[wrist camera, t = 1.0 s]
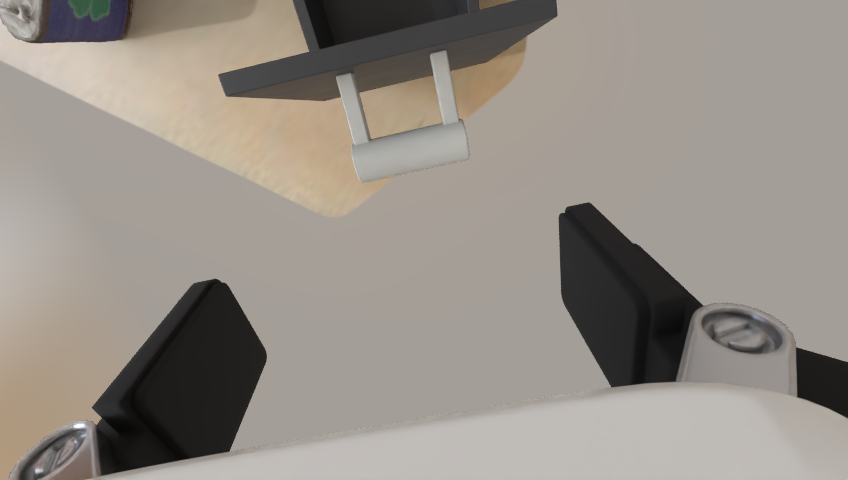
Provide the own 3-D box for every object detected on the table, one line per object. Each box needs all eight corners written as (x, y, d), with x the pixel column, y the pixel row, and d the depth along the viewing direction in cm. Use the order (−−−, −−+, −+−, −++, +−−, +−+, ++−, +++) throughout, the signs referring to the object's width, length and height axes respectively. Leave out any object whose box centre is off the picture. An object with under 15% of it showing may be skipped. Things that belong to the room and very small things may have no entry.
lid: (217, 74, 14) (268, 211, 16) (556, -10, 13) (569, 145, 15) (320, 90, 29) (341, 160, 30) (485, 50, 28) (496, 125, 30)
